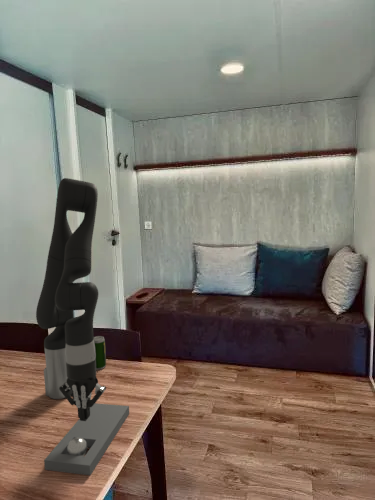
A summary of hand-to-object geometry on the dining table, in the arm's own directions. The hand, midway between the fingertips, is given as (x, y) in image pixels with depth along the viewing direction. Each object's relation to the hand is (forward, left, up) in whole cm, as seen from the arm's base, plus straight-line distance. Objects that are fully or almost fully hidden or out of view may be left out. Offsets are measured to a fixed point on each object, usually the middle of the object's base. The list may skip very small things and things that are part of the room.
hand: (84, 419), depth 96 cm
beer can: (-17, +45, -7) cm, 49 cm away
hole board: (+1, +2, -7) cm, 7 cm away
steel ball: (+1, -6, -5) cm, 7 cm away
